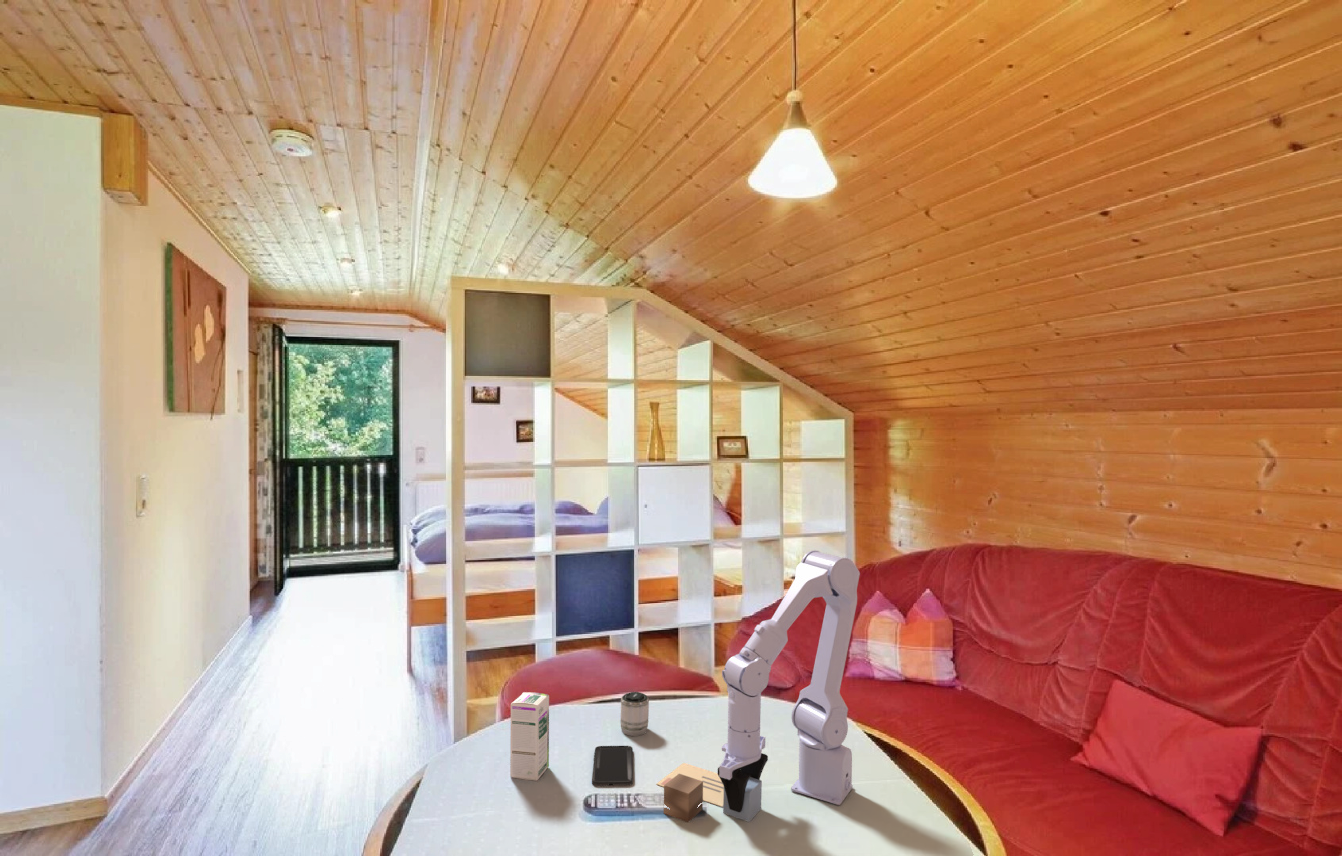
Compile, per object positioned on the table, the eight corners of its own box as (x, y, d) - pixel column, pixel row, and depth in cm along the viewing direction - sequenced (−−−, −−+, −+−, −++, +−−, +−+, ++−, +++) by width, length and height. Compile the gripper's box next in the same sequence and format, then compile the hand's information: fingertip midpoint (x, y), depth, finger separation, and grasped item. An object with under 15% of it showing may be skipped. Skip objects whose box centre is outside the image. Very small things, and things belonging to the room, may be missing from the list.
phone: (632, 745, 144) (633, 781, 129) (632, 750, 144) (632, 787, 129) (594, 745, 144) (590, 782, 129) (594, 751, 144) (590, 788, 129)
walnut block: (702, 809, 122) (703, 781, 122) (688, 822, 117) (688, 793, 117) (678, 801, 124) (679, 773, 124) (663, 813, 120) (664, 785, 120)
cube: (761, 808, 122) (761, 780, 122) (749, 821, 118) (749, 792, 118) (735, 800, 125) (736, 772, 125) (723, 812, 121) (723, 784, 121)
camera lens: (616, 734, 151) (616, 698, 151) (626, 722, 157) (626, 688, 157) (642, 738, 149) (643, 702, 149) (652, 726, 155) (652, 691, 155)
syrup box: (537, 781, 130) (539, 704, 130) (508, 777, 131) (510, 701, 131) (549, 767, 136) (550, 693, 136) (521, 763, 137) (522, 690, 137)
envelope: (746, 783, 131) (746, 782, 131) (722, 807, 122) (722, 806, 122) (683, 763, 138) (683, 762, 138) (656, 784, 130) (656, 783, 130)
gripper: (741, 706, 130) (740, 779, 130) (704, 734, 117) (702, 814, 117) (776, 715, 126) (774, 789, 126) (741, 745, 114) (739, 827, 114)
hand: (742, 802), depth 121 cm, fingers closed on cube, 5 cm apart
